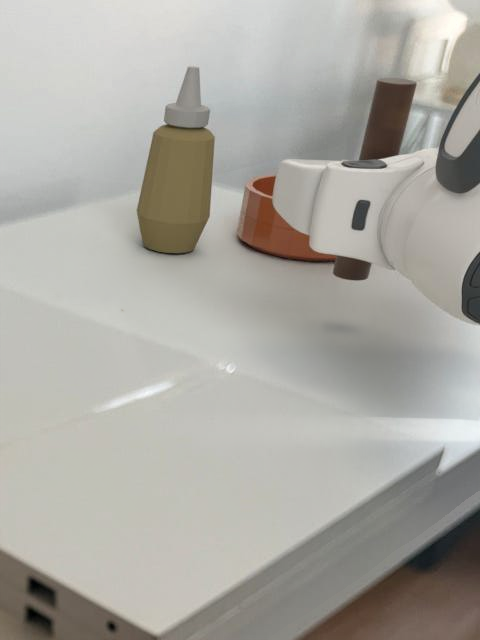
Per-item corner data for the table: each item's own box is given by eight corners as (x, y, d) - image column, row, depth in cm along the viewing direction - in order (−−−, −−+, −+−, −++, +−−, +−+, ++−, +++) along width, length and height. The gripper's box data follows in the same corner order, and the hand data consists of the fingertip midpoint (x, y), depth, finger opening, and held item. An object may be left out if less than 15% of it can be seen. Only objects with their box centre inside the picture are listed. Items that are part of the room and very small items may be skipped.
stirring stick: (361, 270, 97) (408, 78, 87) (372, 281, 94) (422, 84, 84) (328, 269, 96) (371, 76, 87) (338, 280, 94) (384, 83, 84)
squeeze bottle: (133, 234, 120) (154, 58, 109) (203, 240, 119) (231, 64, 109) (131, 254, 114) (153, 70, 103) (204, 261, 113) (234, 76, 102)
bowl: (341, 228, 126) (354, 176, 123) (381, 266, 114) (396, 209, 111) (224, 224, 125) (233, 171, 122) (252, 261, 114) (263, 204, 110)
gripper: (574, 174, 78) (497, 135, 89) (310, 165, 77) (265, 127, 88) (545, 258, 82) (474, 211, 93) (293, 251, 81) (252, 204, 92)
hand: (371, 170), depth 91 cm, fingers closed on stirring stick, 3 cm apart
